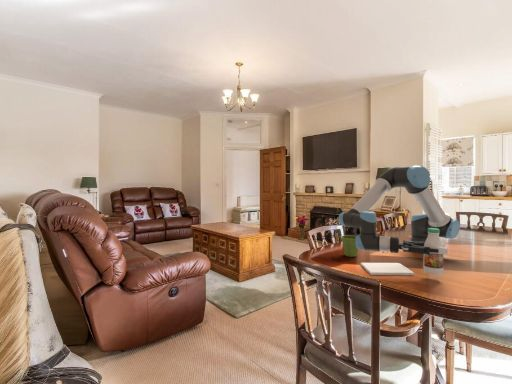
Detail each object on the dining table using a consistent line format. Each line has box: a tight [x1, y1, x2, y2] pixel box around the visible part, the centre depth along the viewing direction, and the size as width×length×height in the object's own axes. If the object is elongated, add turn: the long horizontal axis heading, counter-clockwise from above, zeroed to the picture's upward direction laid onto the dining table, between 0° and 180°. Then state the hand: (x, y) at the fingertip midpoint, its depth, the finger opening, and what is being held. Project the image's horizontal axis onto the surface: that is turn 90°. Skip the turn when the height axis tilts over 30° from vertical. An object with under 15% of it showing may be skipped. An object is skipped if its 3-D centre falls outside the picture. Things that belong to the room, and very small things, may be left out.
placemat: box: [360, 262, 415, 276], centre depth 142 cm, size 20×16×1 cm
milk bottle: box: [422, 228, 444, 275], centre depth 128 cm, size 8×8×20 cm
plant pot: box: [340, 234, 359, 258], centre depth 170 cm, size 12×12×11 cm
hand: (446, 249), depth 126 cm, fingers closed on milk bottle, 7 cm apart
